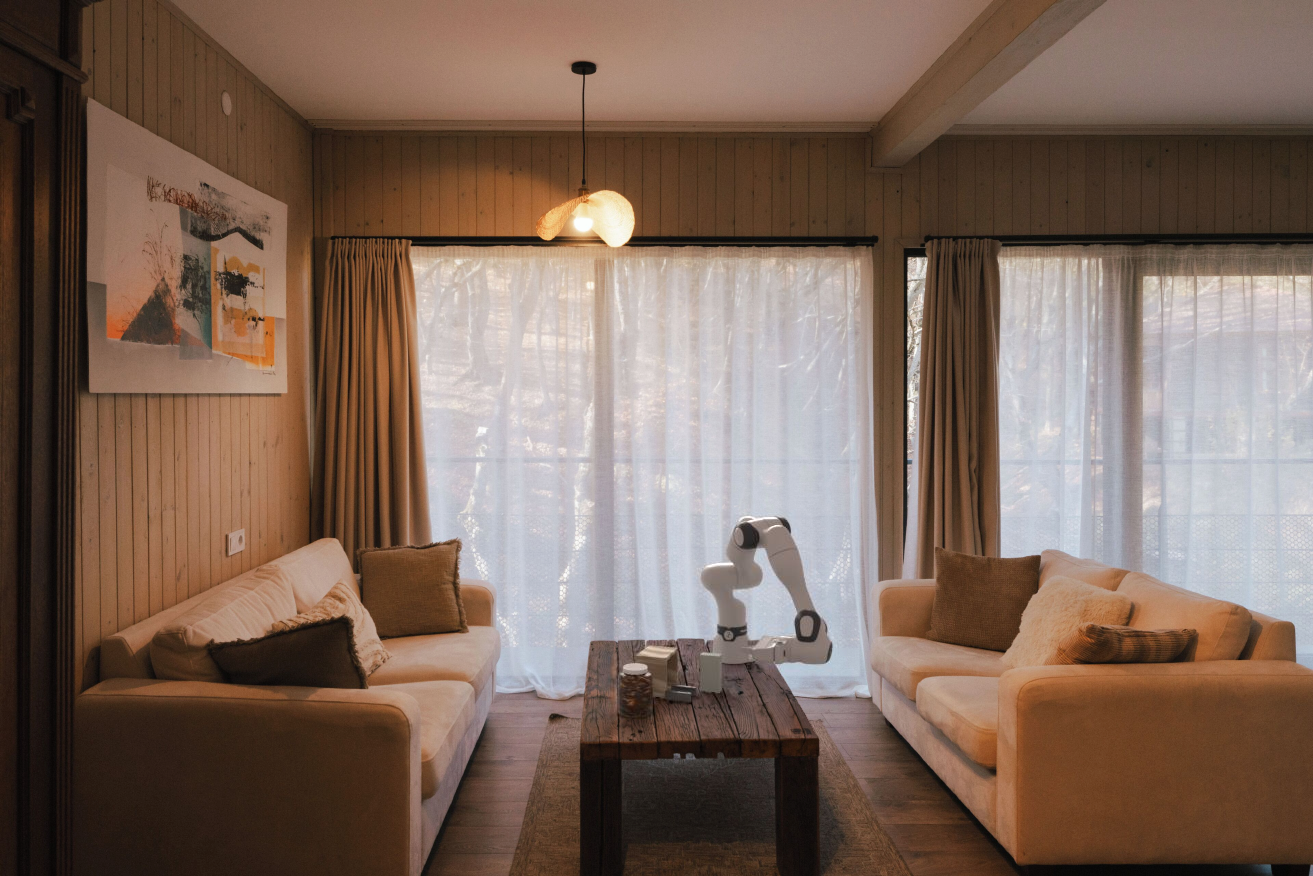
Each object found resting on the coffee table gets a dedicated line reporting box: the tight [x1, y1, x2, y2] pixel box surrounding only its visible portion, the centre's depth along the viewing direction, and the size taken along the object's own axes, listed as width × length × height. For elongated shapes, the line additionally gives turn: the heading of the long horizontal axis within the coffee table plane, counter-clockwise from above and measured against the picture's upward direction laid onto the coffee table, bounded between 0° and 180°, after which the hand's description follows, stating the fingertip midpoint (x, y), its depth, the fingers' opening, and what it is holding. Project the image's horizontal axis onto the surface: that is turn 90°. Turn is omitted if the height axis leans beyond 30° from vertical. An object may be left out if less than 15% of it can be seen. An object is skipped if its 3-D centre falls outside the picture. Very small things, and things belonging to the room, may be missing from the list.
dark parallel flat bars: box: [664, 684, 697, 703], centre depth 290 cm, size 8×9×3 cm
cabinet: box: [635, 645, 679, 699], centre depth 297 cm, size 14×11×14 cm
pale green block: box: [699, 651, 723, 694], centre depth 297 cm, size 4×7×13 cm, turn 72°
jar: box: [617, 662, 654, 719], centre depth 275 cm, size 12×12×15 cm
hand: (744, 646), depth 293 cm, fingers open, 8 cm apart
